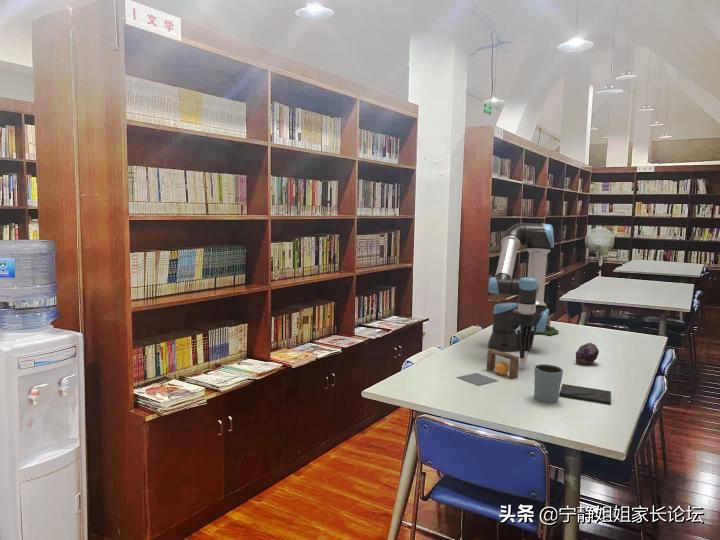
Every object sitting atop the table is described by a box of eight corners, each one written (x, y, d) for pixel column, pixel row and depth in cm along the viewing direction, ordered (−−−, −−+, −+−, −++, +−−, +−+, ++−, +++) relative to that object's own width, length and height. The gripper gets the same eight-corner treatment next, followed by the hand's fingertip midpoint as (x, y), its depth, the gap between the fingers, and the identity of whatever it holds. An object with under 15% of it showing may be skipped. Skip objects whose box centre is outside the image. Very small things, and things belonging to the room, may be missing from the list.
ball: (492, 372, 230) (494, 360, 230) (500, 372, 233) (502, 360, 233) (502, 376, 226) (504, 363, 226) (510, 376, 229) (512, 363, 229)
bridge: (512, 379, 224) (514, 357, 223) (486, 370, 236) (487, 349, 235) (517, 377, 226) (519, 356, 225) (491, 369, 237) (492, 348, 236)
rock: (571, 366, 250) (595, 370, 244) (571, 348, 249) (595, 351, 242) (579, 357, 260) (602, 360, 253) (579, 339, 258) (602, 342, 251)
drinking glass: (540, 392, 208) (542, 362, 206) (565, 399, 201) (568, 368, 199) (527, 398, 201) (529, 367, 199) (553, 406, 193) (555, 373, 192)
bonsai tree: (517, 325, 333) (520, 274, 330) (559, 329, 324) (563, 277, 320) (510, 336, 301) (514, 281, 298) (556, 341, 292) (560, 284, 288)
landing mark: (456, 377, 224) (456, 377, 224) (476, 373, 230) (476, 372, 230) (478, 385, 214) (478, 385, 214) (498, 381, 221) (498, 380, 221)
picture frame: (559, 398, 204) (610, 406, 196) (559, 392, 204) (610, 401, 196) (562, 388, 216) (610, 396, 208) (562, 383, 216) (611, 390, 208)
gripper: (523, 315, 229) (520, 369, 232) (542, 313, 236) (539, 365, 239) (509, 312, 235) (506, 364, 238) (528, 310, 243) (525, 360, 245)
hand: (523, 364), depth 238 cm, fingers closed
